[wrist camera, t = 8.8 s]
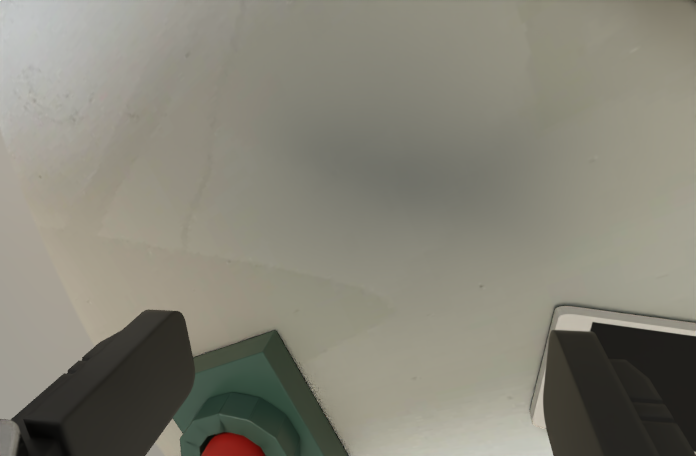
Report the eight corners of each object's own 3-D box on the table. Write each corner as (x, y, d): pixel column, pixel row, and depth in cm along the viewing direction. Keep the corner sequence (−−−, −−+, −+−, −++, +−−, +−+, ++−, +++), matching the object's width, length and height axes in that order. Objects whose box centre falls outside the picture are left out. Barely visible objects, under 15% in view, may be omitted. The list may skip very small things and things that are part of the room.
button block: (170, 364, 30) (132, 409, 26) (275, 329, 27) (249, 373, 24) (247, 480, 32) (221, 536, 29) (350, 458, 30) (336, 515, 26)
